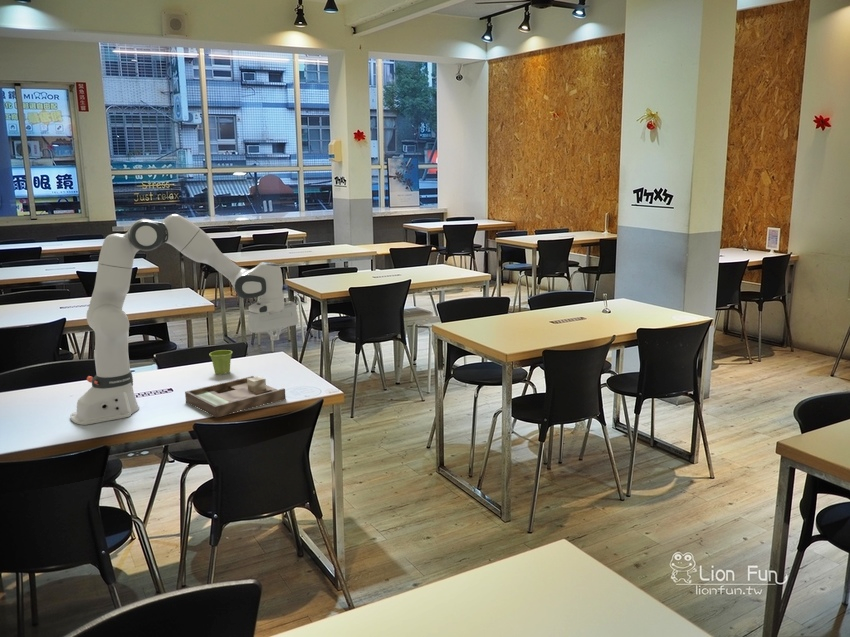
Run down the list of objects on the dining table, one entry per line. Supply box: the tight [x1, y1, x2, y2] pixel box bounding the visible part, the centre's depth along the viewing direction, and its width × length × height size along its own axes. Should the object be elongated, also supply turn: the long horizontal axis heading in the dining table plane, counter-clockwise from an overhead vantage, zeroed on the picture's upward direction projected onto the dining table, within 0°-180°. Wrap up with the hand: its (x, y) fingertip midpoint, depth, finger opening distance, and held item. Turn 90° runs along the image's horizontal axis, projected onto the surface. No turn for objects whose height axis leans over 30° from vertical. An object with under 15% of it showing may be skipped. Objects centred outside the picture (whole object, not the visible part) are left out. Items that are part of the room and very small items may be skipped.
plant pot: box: [209, 349, 233, 375], centre depth 306 cm, size 9×9×9 cm
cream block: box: [247, 375, 267, 392], centre depth 275 cm, size 5×5×4 cm
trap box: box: [184, 375, 286, 418], centre depth 269 cm, size 28×24×4 cm
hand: (274, 340), depth 278 cm, fingers closed
